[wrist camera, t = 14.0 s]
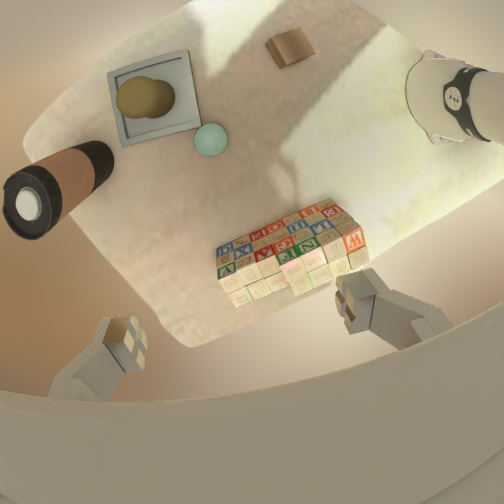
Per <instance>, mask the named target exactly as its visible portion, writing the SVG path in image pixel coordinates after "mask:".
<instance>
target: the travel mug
mask: <svg viewBox="0 0 504 504" xmlns="http://www.w3.org/2000/svg"><path fill="white" fill-rule="evenodd" d="M113 167H114V157H113V154H112V151H111V150H110V148H109V147H108V146H107V145H106V144H104V143H102V142H100V141H91V142H87V143H83V144H80V145H77V146H74V147H70V148H67V149H64V150H62V151H60V152H57V153H55V154H53V155H50V156H48V157H46V158H44V159H42V160H39V161H37V162H35V163H33V164H31V165H29V166H27V167H25V168H23V169H21V170H19V171H17V172H16V173H14V174H12V175H11V176H10V177H9V178H8V179H7V181H6V182H5V184H4V187H3V189H4V205H3V209H2V211H3V215H4V217H5V220H6V222H7V224H8V225H9V227H10V228H11V229H12V230H13V232H14V233H16V234H17V235H18V236H20V237H21V238H23V239H26V240H37V239H39V238H41V237H43V236H44V235H45V234H46V233H47V232H48V231H49V230H51V229H52V228H53V227H54V225H56V224H57V223H58V222H59V221H60V220H61V219H62V218H64V217H65V216H66V215H67V214H68V213H69V212H70V211H72V210H73V209H74V208H75V207H76V206H77V205H79V204H80V203H81V202H82V201H83V200H85V199H86V198H87V197H88V196H89V195H90V194H91V193H92V192H93V191H94V190H95V189H97V188H98V187H99V186H100V185H101V184H102V183H103V182H104V181H105V180H106V179H107V178H108V177H109V176H110V174H111V173H112V170H113Z"/></svg>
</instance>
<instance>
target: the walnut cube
mask: <svg viewBox="0 0 504 504" xmlns="http://www.w3.org/2000/svg"><path fill="white" fill-rule="evenodd" d="M266 46H267V47H268V49H269V51H270V52H271V54H272V56H273V57H274V59H275V61H276V63H277V64H278V66H279V68H283V67H285V66H287V65H290V64H292V63H295V62H297V61H300V60H302V59H305V58H307V57H309V56H311V55H314V54H315V52H314V50H313V48H312V47H311V45H310V43H309V41H308V40H307V38H306V36H305V34H304V33H303V31H302V29H301V28H300V27H299V28H296V29H293V30H290V31H288V32H285V33H282V34H279V35H277V36H274V37H272V38H270V40H269V41H268V42H267V43H266Z"/></svg>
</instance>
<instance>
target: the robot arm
mask: <svg viewBox="0 0 504 504" xmlns="http://www.w3.org/2000/svg"><path fill="white" fill-rule="evenodd" d="M406 95H407V101H408V105H409V108H410V111H411V113H412V115H413V117H414V118H415V120H416V121H417V122H418V124H419V125H420V126H421V127H422V128H423V129H425V131H426V132H427V133H428V136H429V138H430V140H431V141H432V143H433V144H442V143H446V142H450V141H453V140H454V141H458V142H463V141H464V140H468V139H471V138H475V139H477V140H481V141H487V142H491V141H494V142H497V143H500V144H502V145H504V73H498V72H489V71H487V70H485V69H481V68H477V67H474V66H472V65H470V64H465V62H464V61H460V60H458V59H452V58H445V57H443V56H442V55H440V54H438V53H436V52H434V51H431V50H427V51H425V53H424V55H423V57H422V60H421V61H420V62H418V63H417V64H416V65H414V67H413V68H412V69H411V71H410V73H409V75H408V78H407V84H406ZM440 137H441V138H440ZM336 286H337V288H338V291H337V292H336V294H335V296H336V299H335V301H336V307H337V309H338V312H339V314H340V316H342V317H344V318H345V320H344V324H345V325H346V328H347V329H348V331H349V333H350V335H351V334H355V333H358V332H362V331H366V330H370V331H371V332H373V333H374V334H376V335H377V336H379V337H380V338H382V339H383V340H385V341H387V342H388V343H390V344H391V345H393V346H394V347H396V348H397V349H399V351H397V352H394V353H392V354H389V355H386V356H383V357H380V358H377V359H374V360H372V361H368V362H365V363H362V364H359V365H356V366H353V367H349V368H346V369H343V370H339V371H336V372H332V373H329V374H325V375H321V376H317V377H313V378H309V379H305V380H301V381H297V382H292V383H288V384H283V385H278V386H273V387H268V388H263V389H258V390H252V391H246V392H239V393H233V394H226V395H218V396H211V397H203V398H202V397H201V398H191V399H180V400H166V401H144V402H106V400H107V399H108V398H109V397H110V395H111V394H112V392H113V391H114V389H115V388H116V387H117V385H118V384H119V383H120V381H121V380H122V378H123V377H124V376H125V374H126V373H131V372H142V371H143V370H144V364H145V357H144V356H143V355H144V353H145V352H146V351H147V348H148V341H147V336H146V333H145V331H144V329H142V328H141V327H139V326H138V324H139V320H138V318H137V317H136V315H133V314H131V315H122V316H114V317H106V318H103V319H101V321H100V324H99V326H98V329H97V331H96V334H95V337H94V339H93V342H92V345H88V346H87V347H86V348H85V349H84V350H83V351H82V352H81V353H80V354H79V355H78V356H76V357H75V358H74V359H73V360H72V361H71V362H70V363H69V364H68V365H67V366H66V367H65V368H64V369H63V370H62V371H61V372H60V373H59V374H58V375H56V376H55V378H54V381H53V383H52V386H51V389H50V392H49V395H48V398H45V397H37V396H29V395H23V394H16V393H11V392H6V391H1V390H0V504H504V301H502V302H501V303H499V304H497V305H496V306H494V307H492V308H490V309H489V310H487V311H485V312H483V313H481V314H480V315H477V316H476V317H474V318H472V319H470V320H468V321H466V322H464V323H462V324H460V325H458V326H456V327H455V326H454V325H453V323H452V322H451V321H450V320H449V319H448V317H447V316H446V315H445V314H444V312H443V311H442V310H441V309H440V308H437V307H435V306H433V305H430V304H428V303H425V302H423V301H420V300H418V299H415V298H413V297H411V296H408V295H405V294H403V293H401V292H398V291H396V290H390V289H389V288H388V287H387V286H386V284H385V283H384V282H383V281H382V279H381V278H380V277H379V276H378V275H377V273H376V272H375V271H374V270H373V269H372V268H368V269H364V270H361V271H358V272H354V273H350V274H346V275H341V276H337V278H336Z"/></svg>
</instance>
